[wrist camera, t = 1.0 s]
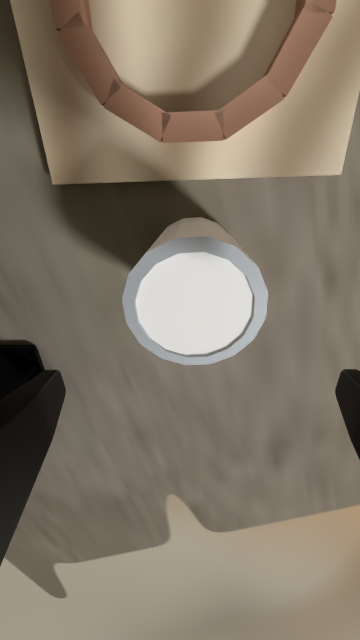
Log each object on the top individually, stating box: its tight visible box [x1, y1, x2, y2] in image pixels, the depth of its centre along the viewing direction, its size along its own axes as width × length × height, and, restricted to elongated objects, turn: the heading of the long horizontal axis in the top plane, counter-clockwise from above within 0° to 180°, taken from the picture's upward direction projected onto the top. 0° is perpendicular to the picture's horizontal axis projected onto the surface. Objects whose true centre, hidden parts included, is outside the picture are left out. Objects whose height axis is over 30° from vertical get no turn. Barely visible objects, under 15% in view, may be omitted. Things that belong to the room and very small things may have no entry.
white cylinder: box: [122, 217, 268, 365], centre depth 17 cm, size 7×7×7 cm
